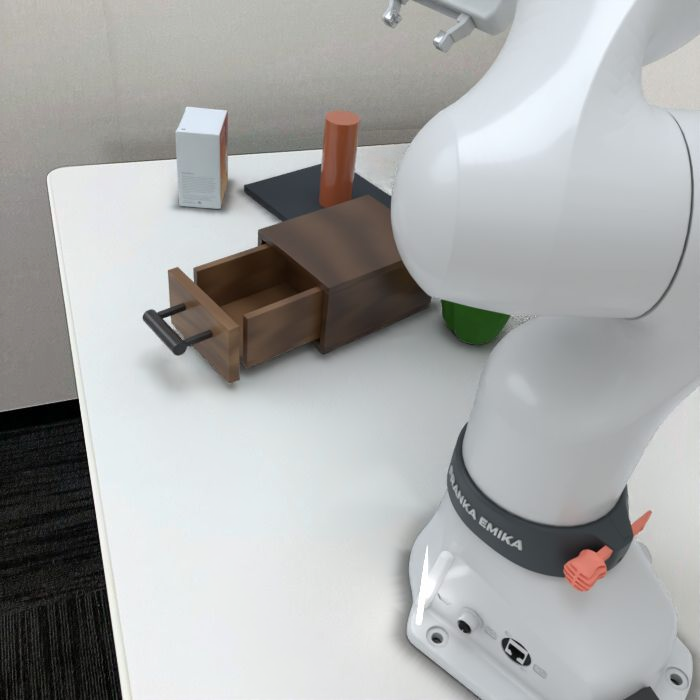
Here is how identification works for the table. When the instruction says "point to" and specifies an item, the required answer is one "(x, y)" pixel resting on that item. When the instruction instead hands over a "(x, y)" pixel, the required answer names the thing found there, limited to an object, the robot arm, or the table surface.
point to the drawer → (240, 310)
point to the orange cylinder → (338, 157)
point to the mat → (303, 192)
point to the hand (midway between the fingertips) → (412, 35)
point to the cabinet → (350, 268)
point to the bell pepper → (473, 322)
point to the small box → (202, 157)
